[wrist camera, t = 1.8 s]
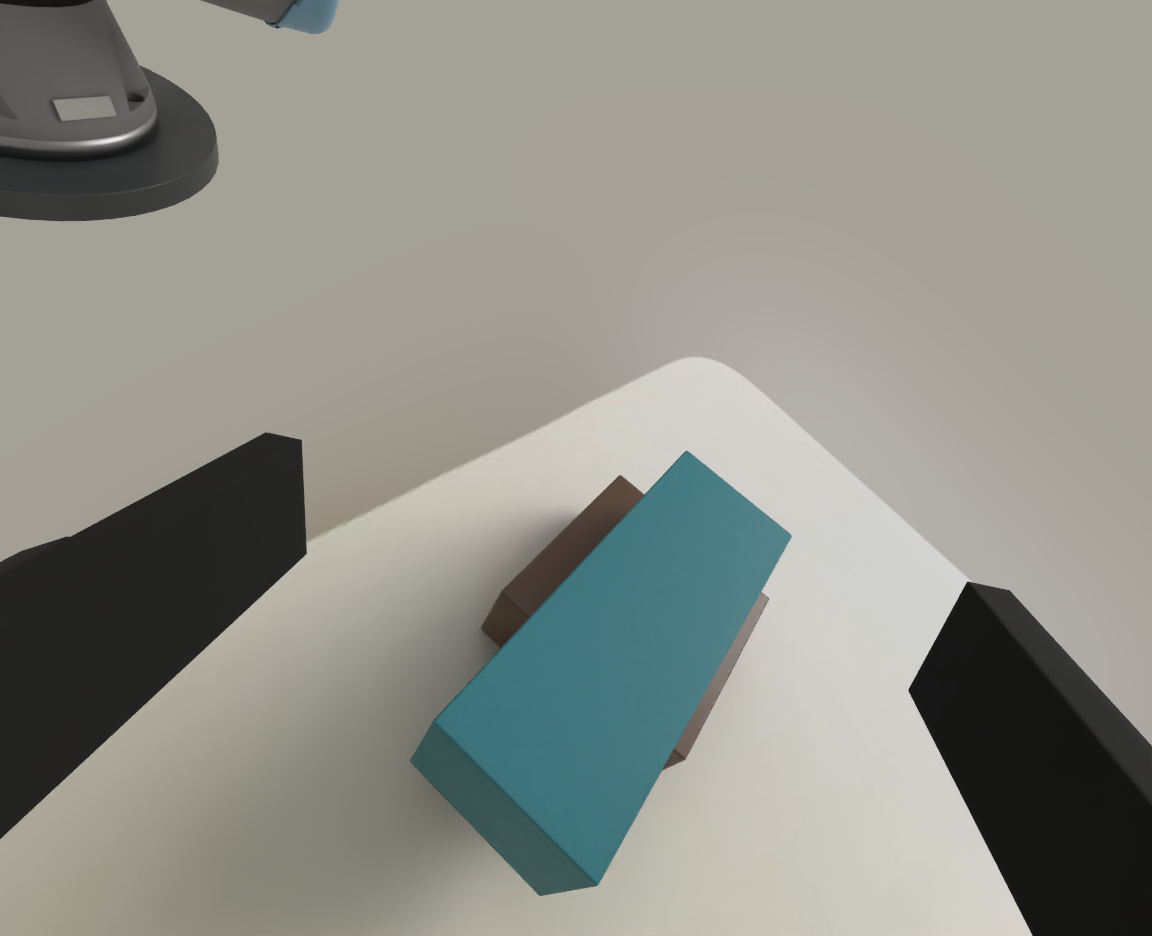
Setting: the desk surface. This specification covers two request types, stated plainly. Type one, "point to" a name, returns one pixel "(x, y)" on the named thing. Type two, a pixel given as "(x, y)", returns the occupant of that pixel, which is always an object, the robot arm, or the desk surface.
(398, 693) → the desk surface
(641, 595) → the teal rectangular prism
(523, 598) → the riser
